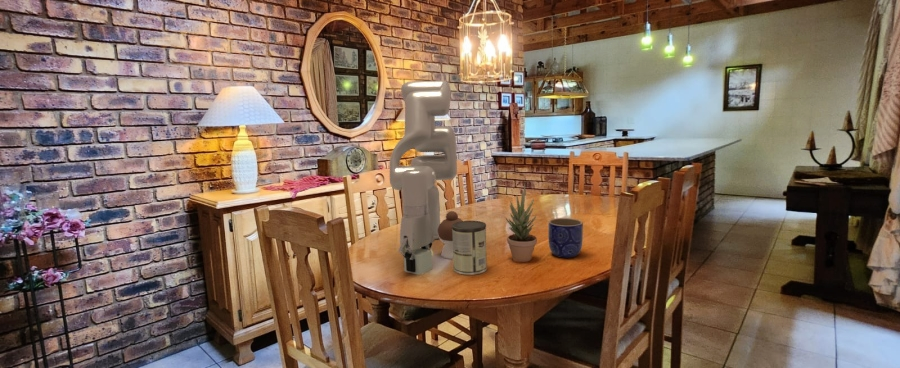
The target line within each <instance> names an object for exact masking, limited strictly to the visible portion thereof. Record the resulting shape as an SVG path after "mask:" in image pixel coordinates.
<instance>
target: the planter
mask: <svg viewBox="0 0 900 368" xmlns="http://www.w3.org/2000/svg"><path fill="white" fill-rule="evenodd" d="M547 224H548V235H547V237H548V248H549V250H550V252H551V253H552V254H553V255H554V256H556V257H558V258H565V259H570V258H575V257H576V256H578V255H579V254H580V253H581V251H582V249H583V239H584V237H583V236H584V230H583V229H584V222H583V221H582V220H580V219H576V218H569V217H568V218H567V217H560V218H558V217H557V218H552V219H549V220H548V223H547Z"/></svg>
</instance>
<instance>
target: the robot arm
mask: <svg viewBox="0 0 900 368" xmlns="http://www.w3.org/2000/svg"><path fill="white" fill-rule="evenodd" d="M400 93H401V97H402V99H403V102H404V103H405V104H404V135H403V136H402V138H401V139H400V140H398V142H397V143H396V145H395V146H394V147H393V150H392V152H391V155H390V159H389V184H390V186H391V187H392V189H393V190H396V191H401V193H402V195H401V196H402V210H403V211H402V212H403V214H402V215H403V216H402V217H401V221H400V229H399V230H400V231H399V242H400V243H399V245H400V246H399V248H398V252H399V253H400V255H402V257H403V259H404V258H405V259H406V270H407V271H410V272H415V271H416V270H415V259H413V258H414V254H415V250H416V249H418V248H421V249H426V250H431V248H432V246H433V242H434V240H438V239H439V236H438V227H439V225H440V224H441V212H440V211H441V209H440V208H441V206H440V190H439V189H438V187H437V186H436V181H446V180H453V179H455V178H456V177H457V172H458V162H457V161H458V159H457V139H456V133H455V130H454V129H453V128H452V127H451V126H444V125H443V126H436V121H435V120H436V119H435V117H444V116H447V115H448V113H449V112H450V107H451V94H452V90H451V86H450V84H449V82H448V81H446V80H414V81H412V80H411V81H408V82H405V83H403V84H402V85H401V89H400ZM412 149H415V150H416V151H417V152H419V153H442V154H429V155H428V154H426V155H425V154H424V155H418V156H415V157H414V158H412V160H411V162H410V165H406V166H405V165H402V166H401V165H400V161H401V159H402V157H403V156H405V154H406V153H407V152H409V151H410V150H412ZM439 240H440V239H439ZM409 250H410V251H411V254H409Z"/></svg>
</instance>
